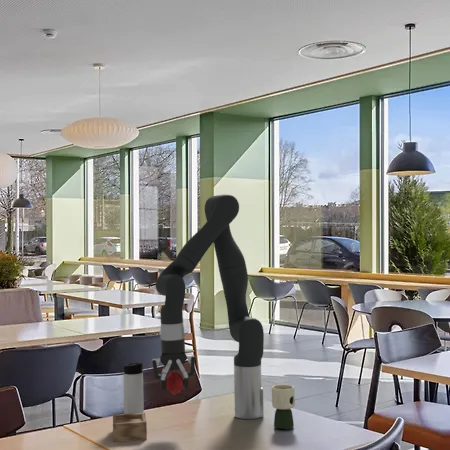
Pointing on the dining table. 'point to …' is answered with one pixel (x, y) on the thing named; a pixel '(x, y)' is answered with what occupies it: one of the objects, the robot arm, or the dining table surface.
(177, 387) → the onion
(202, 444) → the dining table surface
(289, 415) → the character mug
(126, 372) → the travel mug
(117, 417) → the base
